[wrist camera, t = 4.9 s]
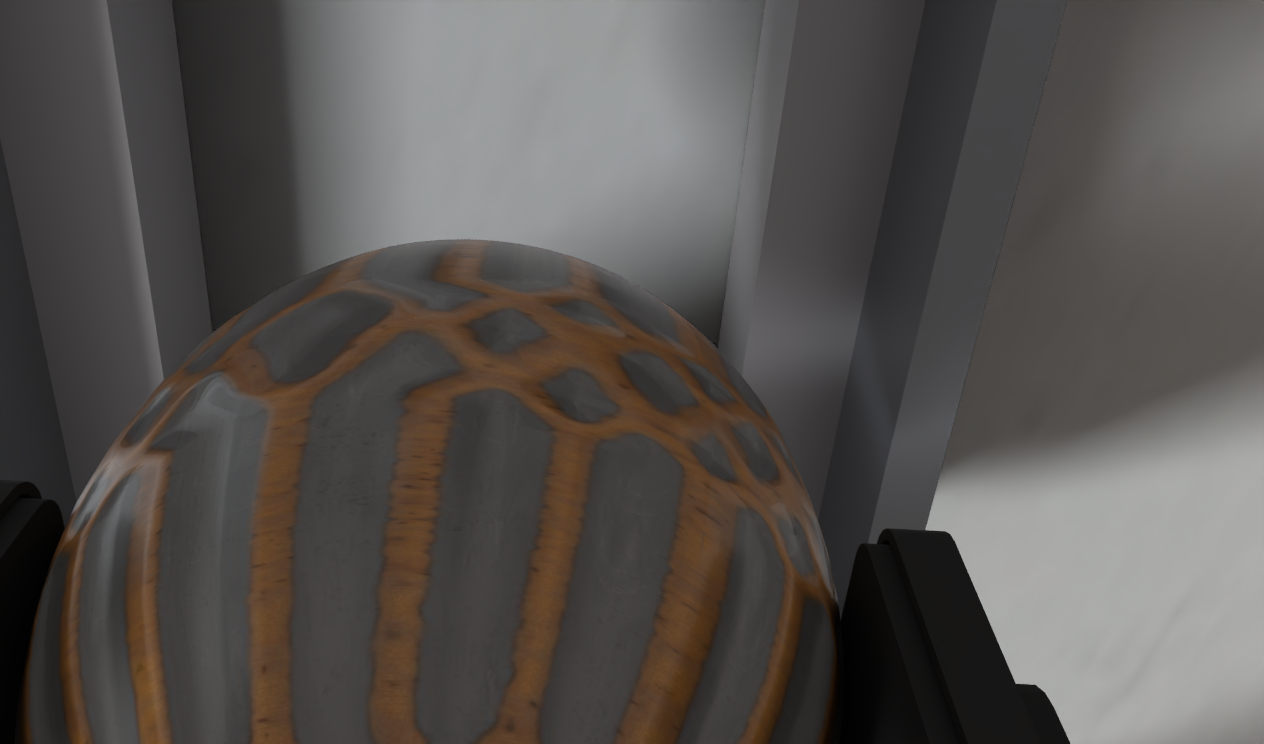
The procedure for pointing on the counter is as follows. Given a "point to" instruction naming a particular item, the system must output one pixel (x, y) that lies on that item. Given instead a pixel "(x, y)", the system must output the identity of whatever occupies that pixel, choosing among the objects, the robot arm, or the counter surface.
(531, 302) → the vase
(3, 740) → the robot arm
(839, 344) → the equipment case
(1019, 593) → the counter surface
